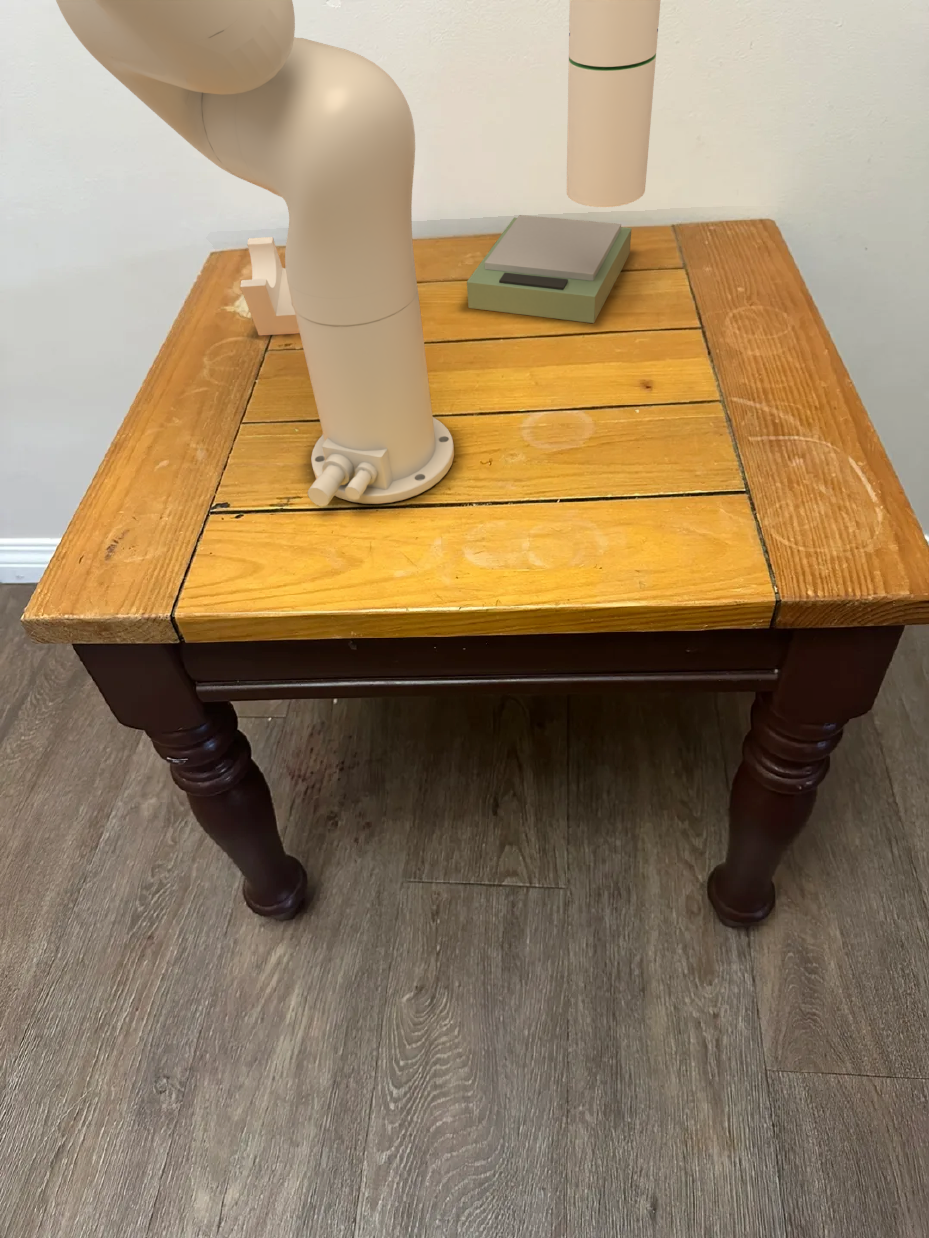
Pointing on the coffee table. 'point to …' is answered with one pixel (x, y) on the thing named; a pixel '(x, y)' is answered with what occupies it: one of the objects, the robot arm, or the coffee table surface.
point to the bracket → (268, 290)
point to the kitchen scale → (551, 268)
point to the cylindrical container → (610, 99)
